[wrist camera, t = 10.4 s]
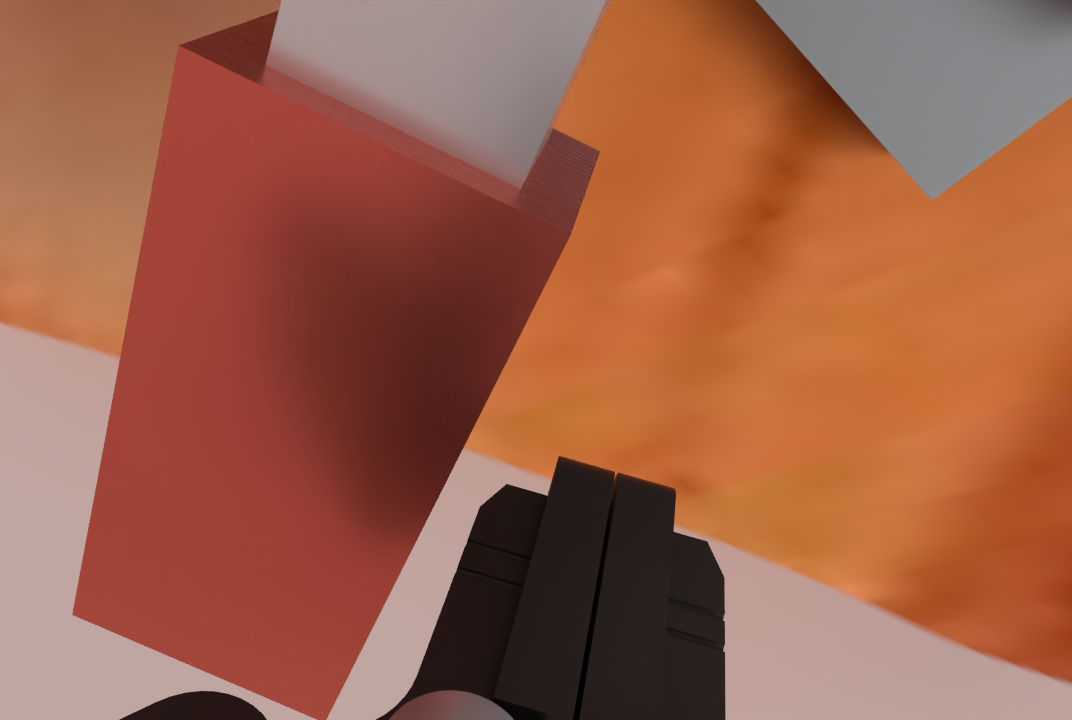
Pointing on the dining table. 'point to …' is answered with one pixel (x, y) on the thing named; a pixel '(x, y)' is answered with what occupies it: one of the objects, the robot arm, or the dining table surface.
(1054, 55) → the pipe manifold
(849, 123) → the dining table surface
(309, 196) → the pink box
